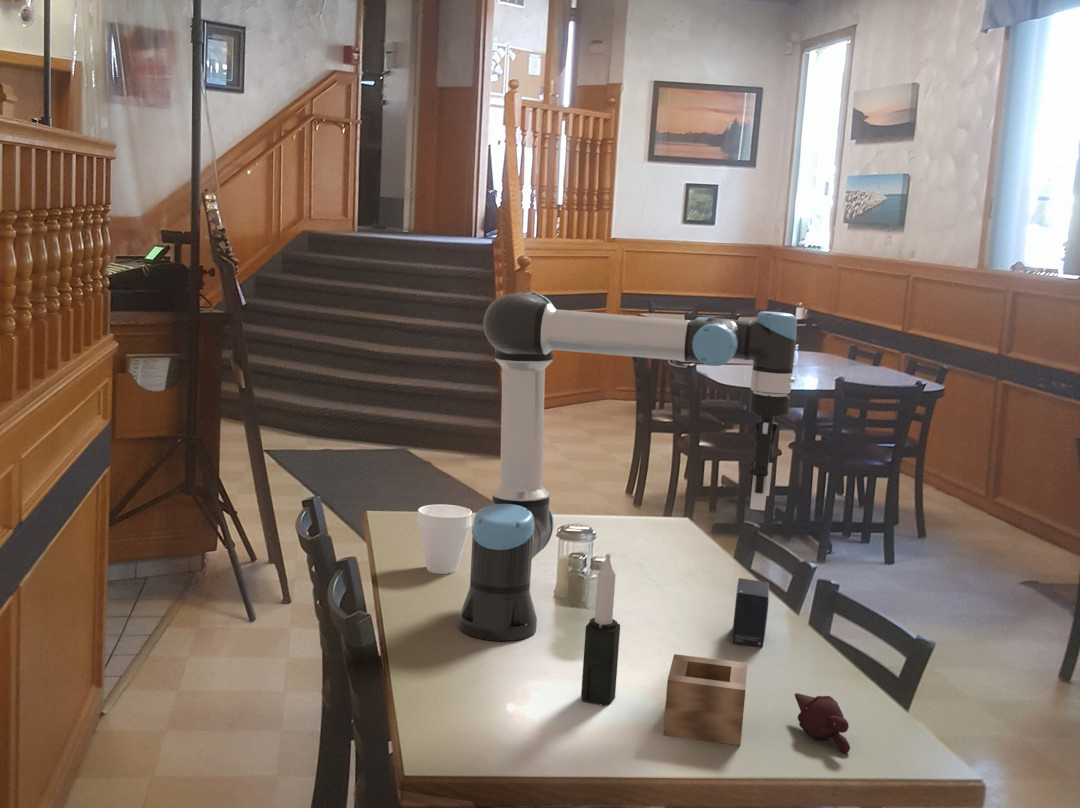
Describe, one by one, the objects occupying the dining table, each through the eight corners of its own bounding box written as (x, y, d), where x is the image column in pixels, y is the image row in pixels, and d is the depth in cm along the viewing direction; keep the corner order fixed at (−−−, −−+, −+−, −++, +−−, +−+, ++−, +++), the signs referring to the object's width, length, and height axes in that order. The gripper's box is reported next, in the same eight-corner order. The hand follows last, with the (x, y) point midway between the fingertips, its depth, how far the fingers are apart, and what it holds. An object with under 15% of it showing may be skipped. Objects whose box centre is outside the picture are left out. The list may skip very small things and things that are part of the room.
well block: (663, 734, 184) (667, 680, 183) (669, 705, 196) (674, 654, 195) (740, 745, 182) (745, 690, 181) (742, 715, 194) (747, 663, 192)
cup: (479, 569, 268) (483, 510, 266) (447, 581, 257) (450, 520, 255) (437, 558, 274) (439, 501, 272) (403, 569, 264) (406, 510, 262)
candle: (616, 695, 199) (627, 552, 195) (608, 706, 194) (619, 559, 190) (587, 690, 200) (597, 548, 197) (579, 701, 196) (588, 555, 192)
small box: (764, 648, 227) (769, 596, 225) (730, 644, 228) (735, 592, 227) (765, 631, 237) (770, 580, 236) (732, 627, 238) (737, 577, 237)
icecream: (774, 682, 192) (824, 728, 178) (813, 669, 194) (866, 713, 180) (777, 719, 194) (827, 766, 180) (816, 705, 196) (869, 751, 182)
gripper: (787, 403, 211) (776, 518, 214) (792, 387, 235) (782, 491, 238) (745, 399, 213) (734, 513, 216) (755, 384, 237) (745, 487, 240)
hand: (759, 502), depth 227 cm, fingers open, 13 cm apart
